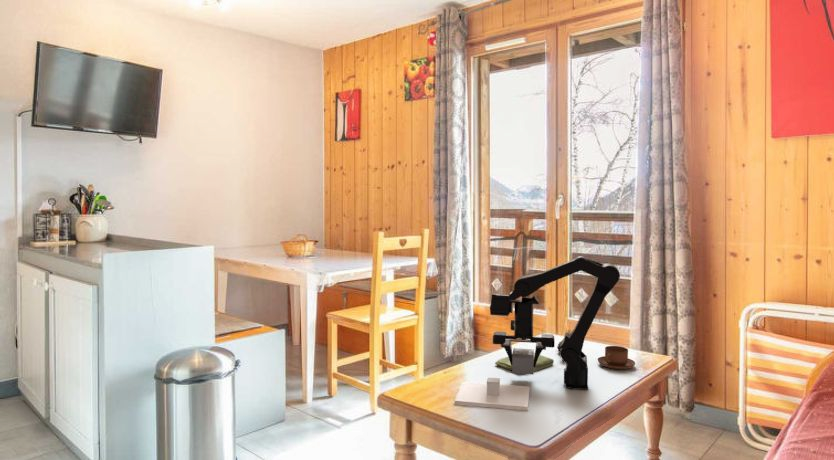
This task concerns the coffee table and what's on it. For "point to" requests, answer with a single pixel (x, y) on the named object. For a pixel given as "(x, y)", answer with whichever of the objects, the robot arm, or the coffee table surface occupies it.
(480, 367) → the coffee table surface
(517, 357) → the dark grey framed cube
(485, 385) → the post plate
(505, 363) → the washcloth
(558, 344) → the bolt
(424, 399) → the coffee table surface
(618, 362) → the cup and saucer
